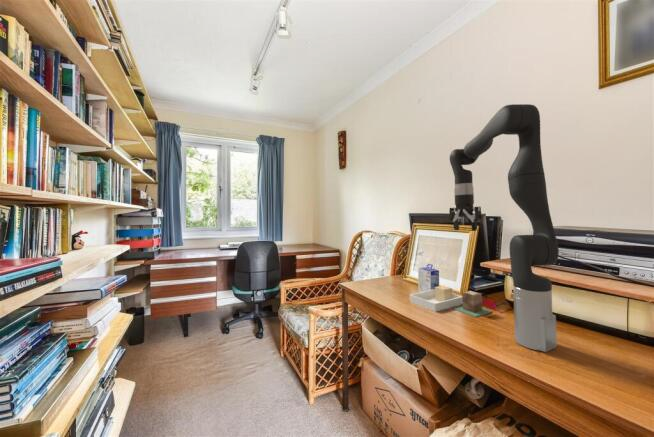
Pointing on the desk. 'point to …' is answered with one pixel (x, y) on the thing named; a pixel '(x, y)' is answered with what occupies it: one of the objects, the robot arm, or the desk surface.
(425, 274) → the ink cartridge box
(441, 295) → the kraft block
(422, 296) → the bin
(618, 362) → the desk surface
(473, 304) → the labelled block
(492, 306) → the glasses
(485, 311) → the felt mat
